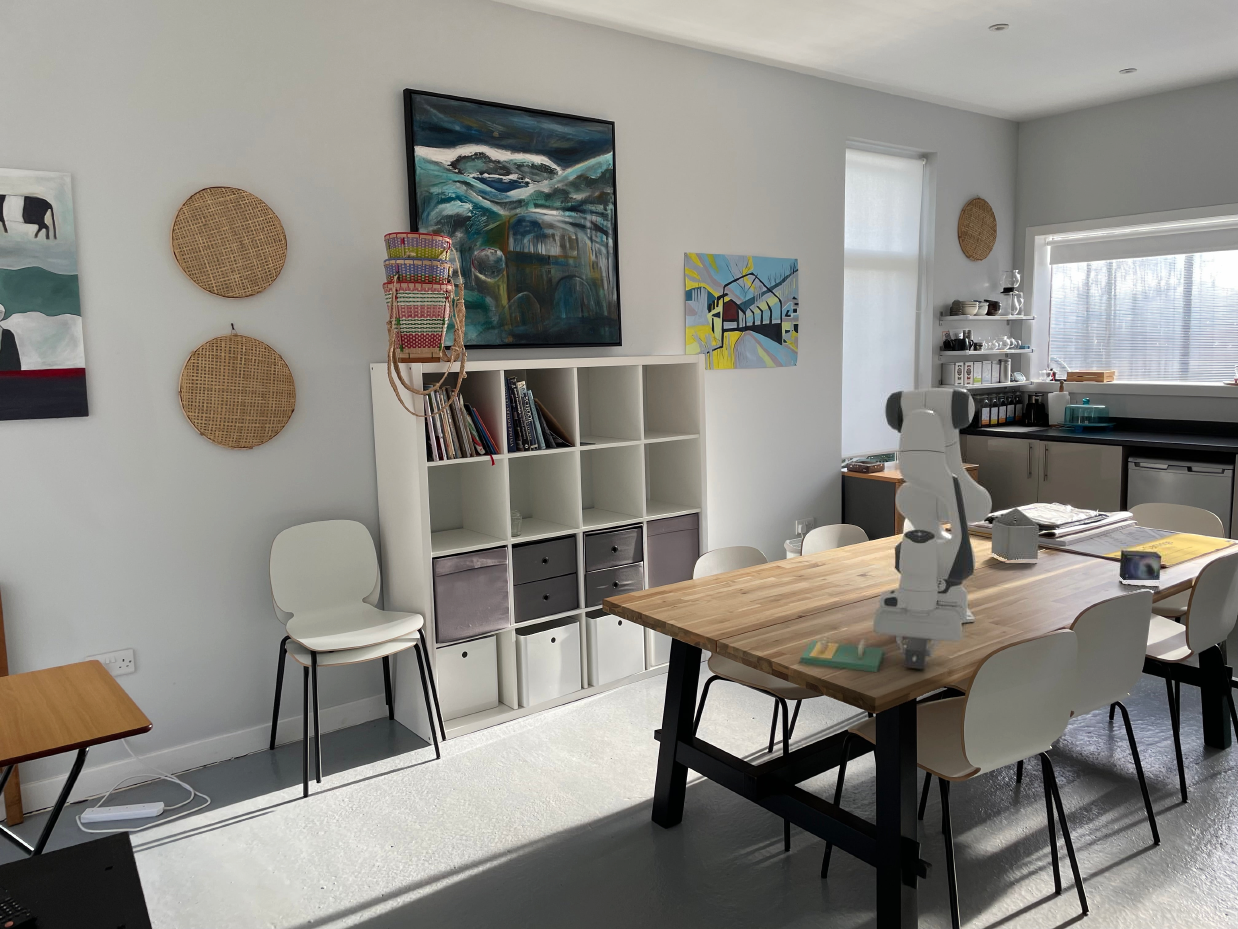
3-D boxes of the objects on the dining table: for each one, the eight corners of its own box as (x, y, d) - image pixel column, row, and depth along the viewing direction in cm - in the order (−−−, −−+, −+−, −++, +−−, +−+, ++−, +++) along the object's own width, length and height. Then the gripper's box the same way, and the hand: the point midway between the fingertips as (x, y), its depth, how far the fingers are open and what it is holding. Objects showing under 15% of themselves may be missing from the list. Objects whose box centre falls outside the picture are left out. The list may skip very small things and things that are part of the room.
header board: (811, 646, 232) (811, 629, 231) (883, 654, 225) (884, 636, 224) (800, 663, 219) (800, 645, 218) (876, 672, 212) (877, 653, 211)
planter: (983, 560, 328) (985, 508, 326) (991, 557, 334) (993, 505, 332) (1030, 567, 317) (1032, 513, 315) (1037, 563, 323) (1040, 510, 321)
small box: (1123, 585, 290) (1124, 553, 289) (1118, 580, 296) (1120, 549, 295) (1160, 587, 287) (1162, 555, 286) (1154, 582, 293) (1156, 551, 292)
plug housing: (908, 653, 222) (908, 637, 221) (927, 655, 220) (927, 638, 219) (903, 670, 210) (904, 653, 209) (923, 673, 208) (924, 655, 208)
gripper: (964, 599, 213) (962, 655, 215) (875, 592, 221) (874, 646, 223) (964, 606, 208) (962, 664, 209) (872, 598, 215) (871, 654, 217)
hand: (916, 654), depth 216 cm, fingers closed on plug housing, 4 cm apart
